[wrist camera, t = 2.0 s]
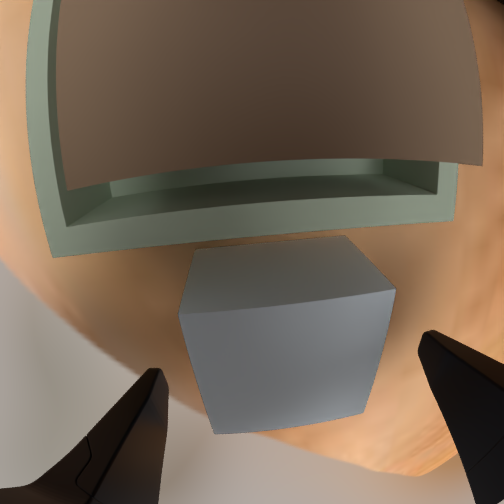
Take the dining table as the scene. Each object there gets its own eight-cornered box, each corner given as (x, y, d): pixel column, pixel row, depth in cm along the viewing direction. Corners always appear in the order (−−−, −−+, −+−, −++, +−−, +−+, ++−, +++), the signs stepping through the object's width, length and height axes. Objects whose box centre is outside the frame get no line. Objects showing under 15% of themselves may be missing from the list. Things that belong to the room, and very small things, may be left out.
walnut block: (339, -23, 7) (415, -102, 1) (359, 141, 9) (482, 166, 4) (150, -16, 6) (91, -107, 1) (159, 155, 9) (67, 190, 4)
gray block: (343, 234, 12) (396, 288, 7) (334, 345, 14) (363, 412, 10) (195, 247, 11) (177, 314, 7) (216, 359, 14) (214, 434, 10)
